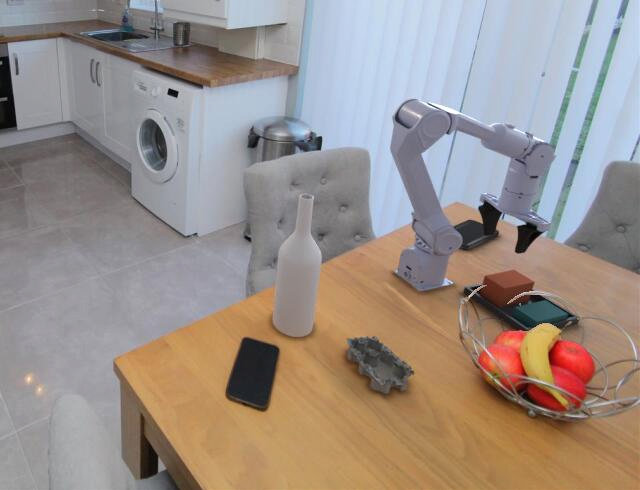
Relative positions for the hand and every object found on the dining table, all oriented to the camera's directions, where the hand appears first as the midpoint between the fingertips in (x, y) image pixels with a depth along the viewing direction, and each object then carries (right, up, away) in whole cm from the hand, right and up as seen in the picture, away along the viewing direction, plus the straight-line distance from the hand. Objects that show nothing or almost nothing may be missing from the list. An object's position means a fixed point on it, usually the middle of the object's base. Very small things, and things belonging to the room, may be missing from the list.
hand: (503, 243), depth 109 cm
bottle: (-51, -16, -8) cm, 54 cm away
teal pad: (-1, -14, -11) cm, 18 cm away
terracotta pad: (-3, -11, -4) cm, 12 cm away
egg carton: (-40, -20, -20) cm, 49 cm away
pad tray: (-2, -13, -7) cm, 15 cm away
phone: (+6, -2, +20) cm, 21 cm away
